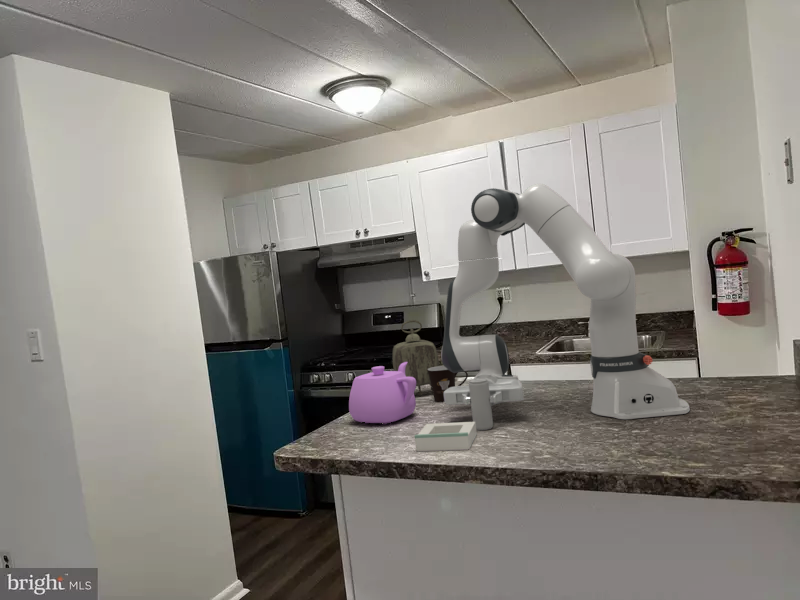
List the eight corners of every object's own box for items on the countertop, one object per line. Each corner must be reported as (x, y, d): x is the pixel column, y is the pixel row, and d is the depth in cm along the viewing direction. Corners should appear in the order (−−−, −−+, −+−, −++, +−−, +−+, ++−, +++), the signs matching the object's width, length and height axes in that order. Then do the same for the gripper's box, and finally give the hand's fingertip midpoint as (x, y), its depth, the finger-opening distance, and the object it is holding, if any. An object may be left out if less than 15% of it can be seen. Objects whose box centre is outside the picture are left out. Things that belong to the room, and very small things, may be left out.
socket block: (476, 434, 138) (475, 419, 138) (469, 449, 127) (467, 433, 127) (427, 436, 142) (426, 421, 142) (416, 451, 130) (414, 435, 130)
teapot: (402, 429, 151) (395, 372, 150) (341, 425, 163) (335, 372, 163) (447, 408, 169) (441, 357, 169) (389, 406, 182) (384, 358, 181)
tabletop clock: (438, 389, 199) (429, 317, 198) (443, 394, 190) (434, 318, 189) (396, 395, 197) (387, 322, 196) (399, 400, 188) (391, 323, 187)
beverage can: (492, 430, 140) (487, 381, 140) (472, 431, 141) (467, 382, 141) (493, 424, 145) (488, 377, 144) (474, 426, 146) (469, 378, 145)
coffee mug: (427, 403, 179) (423, 371, 179) (436, 397, 187) (432, 366, 187) (463, 402, 175) (459, 369, 174) (471, 395, 182) (467, 364, 182)
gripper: (447, 380, 158) (436, 390, 145) (523, 374, 152) (520, 385, 139) (449, 402, 158) (439, 415, 145) (526, 398, 153) (523, 411, 139)
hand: (479, 400), depth 142 cm, fingers closed on beverage can, 5 cm apart
